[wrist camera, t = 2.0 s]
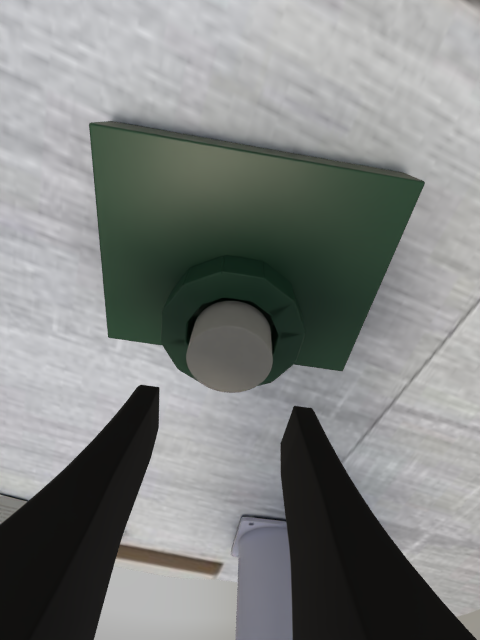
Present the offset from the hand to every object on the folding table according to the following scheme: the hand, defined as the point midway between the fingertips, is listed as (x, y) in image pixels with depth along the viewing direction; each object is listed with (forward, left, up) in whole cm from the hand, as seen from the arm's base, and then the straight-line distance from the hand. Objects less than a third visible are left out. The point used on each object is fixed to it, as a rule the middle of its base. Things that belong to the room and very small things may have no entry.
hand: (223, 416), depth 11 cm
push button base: (0, -2, -8) cm, 9 cm away
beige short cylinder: (0, 0, -5) cm, 5 cm away
